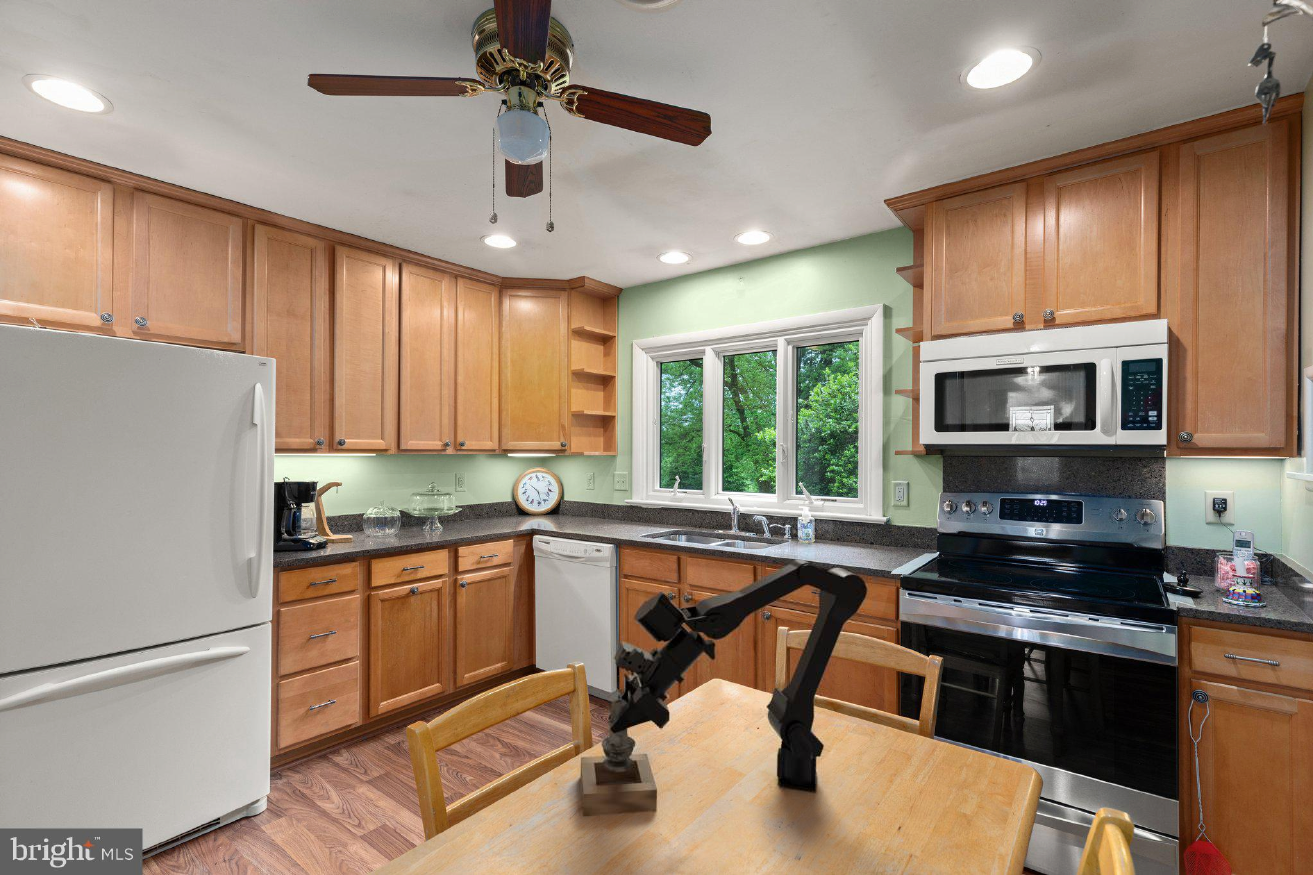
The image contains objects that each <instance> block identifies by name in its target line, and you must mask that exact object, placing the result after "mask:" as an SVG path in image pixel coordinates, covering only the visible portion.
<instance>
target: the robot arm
mask: <svg viewBox="0 0 1313 875" xmlns="http://www.w3.org/2000/svg"><path fill="white" fill-rule="evenodd" d="M805 586H809V587H812V588H814V589H815V588H816V590H817V589H818V590H819V593H818V613H817V616H816V618H815V621H814V623H813V626H812V628H811V631H810V633H809V636H808V638H807V640H806V644H805V646H804V648H803V651H802V653H801V656H800V657H799V660H798V663H797V664H796V667H795V671H794V672H793V675H792V678H791V679H790V682H789V683H788V685H786V686H785V687H784V688H783V689H782V690H781V689H779V688H778V687H775V688H774V690H773V693H772V697H771V700H770V701H769V703H768V704H767V705H766V708H767V710H768V711H767V719H768V722H769V724H770V726H771V728H772V729H773V730H774V731H775V733H776V734H777V735H778V737H779V738H780V739H781V742H780V743H781V744H780V747H779V748H777V755H776V757H777V758H776V777H777V778H779V779H778V786H780V787H783V788H789V789H796V790H803V791H807V792H813V793H815V792H817V791H818V790H817V788H818V787H817V781H818V780H817V779H818V772H817V758H819V757H822V756H821V755H822V753H823V750H824V747H825V745H824V743H822V741H821V740H820V739H819V738H818V737H817V736H816V734H815V733H814V732H813V731H812V729H813V726H814V725H813V724H814V722H815V721H814V720H815V697H816V695H817V692H818V689H819V686H820V683H821V682H822V679H823V677H824V674H825V672H826V669H827V667H828V664H829V663H830V660H831V657H832V655H833V652H834V650H835V648H836V645H837V642H838V639H839V637H840V634H841V632H842V631H843V628H844V625H845V624H846V622H848V621H849V620H850V619H851V618H853V616H855V615H856V614H857V613H858V611H859V609H860V607H861V606H862V605H863V603H864V601H865V600H866V598H867V595H868V587H867V585H866V582H865V580H864V579H863V578H862V577H861V576H859V575H858V574H855V573H853V572H850V571H849V570H846V569H845V568H840V567H833V568H831V569H828V568H825V567H822V566H820V565H817V564H813V563H810V562H808V560H807V561H806V560H804V559H801V558H796V559H794V560H793V561H791V563H789V564H788V565H785V566H784V567H781V568H780V569H778V570H776V571H774V572H772V573H770V574H768V575H766V576H764V577H762V578H760V579H758V580H757V581H755V582H753V583H751V584H748V585H747V586H745V587H743V588H741V589H739V590H735V591H733V592H730V593H723V594H717V595H713V596H710V597H707V598H704V599H702V600H700V601H699V602H698V603H697V604H696V605H695V604H694V605H689V606H684V607H679V608H678V607H677V606H676V605H675V604H674V603H673V602H672V600H670V598H669V597H668V596H667V594H666V593H665V592H664V591H659V593H658V594H656V595H653V596H652V597H651V598H649V599H648V600H645V601H644V602H643V603H642V604H641V605H640V606H639V607H638V609H637V611H636V613H635V614H634V617H633V619H634V621H635V622H636V623H637V624H638V625H639V627H641V628H642V629H643V630H644V631H645V632H646V633H648V634H649V636H650V637H652V639H653V640H654V641H656V643H657V642H658V643H660V642H663V643H665V644H664V645H663V646H662V647H661V648H660V649H659V648H658V647H656V648H653V649H652V650H651V651H650V652H648V651H646V650H644V649H642V648H640V647H639V646H638V647H637V646H636V645H632V643H628V642H626V641H623V640H622V641H621V642H620V644H619V647H618V648H617V651H616V653H615V655H614V657H613V659H614V660H615V663H614V664H615V666H616V667H617V668H620V669H622V670H625V671H626V672H630V674H629V675H627V674H626V673H624V674H623V690H622V692H621V694H620V696H621V697H620V698H621V699H623V700H625V701H626V702H627V705H626V706H625V708H624V709H623V710H622V712H621V713H620V714H619V716H618V717H617V718H616V720H615V721H614V723H613V724H612V726H611V727H610V726H609V731H610V730H611V731H612V732H613V733H617V732H619V731H622V730H625V729H627V730H628V729H631V728H632V727H636V726H638V725H641V724H644V723H648V722H653V723H654V725H656V726H657V727H658V728H659V729H661V730H662V729H663V728H664V727H665V726H666V725H667V724H668V722H670V710H669V708H668V705H667V703H666V702H665V700H666V699H667V698H668V695H667V692H668V691H669V690H670V689H671V688H672V687H673V686H674V685H675V684H676V683H677V682H678V684H682V683H683V682H684V680H685V679H684V676H683V675H684V674H685V673H686V672H687V671H688V670H689V669H690V668H691V667H692V666H693V665H694V663H696V662H697V660H698V659H699V658H700V657H701V656H702V655H703V654H704V653H705V654H706V655H707V656H708V657H709V658H710V659H711V660H712V661H714V660H715V659H716V653H715V647H716V643H715V641H717V640H718V641H719V640H722V639H724V638H726V637H728V635H730V634H731V633H732V632H734V631H735V630H736V629H737V628H739V627H740V626H741V625H742V623H743V622H744V621H745V619H747V618H748V617H749V616H750V615H752V614H753V613H755V612H757V611H759V610H761V609H763V608H765V607H767V606H769V605H771V604H772V603H774V602H776V601H778V600H780V599H782V598H784V597H786V596H788V595H790V594H791V593H794V592H796V591H797V590H799V589H802V588H803V587H805ZM683 624H684V625H686V626H687V627H688V628H689V629H690V630H689V629H688V628H687V627H685V626H684V625H683ZM702 634H703V635H705V636H706V637H707V638H709V639H706V638H705V637H704V636H703V635H702ZM610 718H611V713H610V714H609V716H608V717H607V719H608V720H609V719H610Z"/></svg>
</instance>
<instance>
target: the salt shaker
mask: <svg viewBox="0 0 1313 875" xmlns="http://www.w3.org/2000/svg"><path fill="white" fill-rule="evenodd" d="M620 697H621V694H620V693H619V694H617V697H616V698H615V699H613V700H612V701H611V702H610V714H611V718H610V719H609V720H608V721H607V722H608V724H609V728H610V727H611V726H612V724H613V723H614V721H615V720H616V718H617V717H618V716H619V714H620V713H621V712H622V710H623V709H624V708H625V706H626V705H627V702H626V701H625V700H623V699H621V698H620ZM628 734H629V733H628V728H627V729H625V730H622V731H619V732H617V733H613V732H612V731H611V730H610V729H609V734H608V736H607V737H606V738H604V739H603V740H602V741H601V742H600V743H601V747H602V749H603V750H602V751H603V753H604V756H606V757H607V758H606V759H605V760H604V761H603V767H604V768H605V769H607V770H609V771H612V772H623V771H626V770H629V769H630V768H632V767H633V761H632V759H630V758H629V757H630V756H631V754H633V751H634V749H635V746H636V741H635V739H634V738H632V737H630V736H629V735H628Z"/></svg>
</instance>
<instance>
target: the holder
mask: <svg viewBox="0 0 1313 875" xmlns="http://www.w3.org/2000/svg"><path fill="white" fill-rule="evenodd" d="M606 758H607V757H606V755H598V756H585V757H583V756H581V757H580V787H581V789H580V790H581V802H582V803H581V804H582V816H583V817H589V816H602V815H603V816H604V815H605V816H606V815H617V814H618V815H619V814H628V813H629V814H630V813H646V812H657V811H658V810H657V806H658V805H657V803H658V788H657V785H656V781H655V777H654V774H653V770H652V767H651V764H650V761H649V756H648V753H632V754H631V756H630V757H629V758H630V759H632V761H633V767H632V768H630V769H629V770H626V771H623V772H612V771H609V770H607V769H605V768H604V767H603V761H604V760H605V759H606ZM621 781H622V782H624V781H636V783H624V784H610V785H609V784H608V785H597V783H605V782H621Z"/></svg>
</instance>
